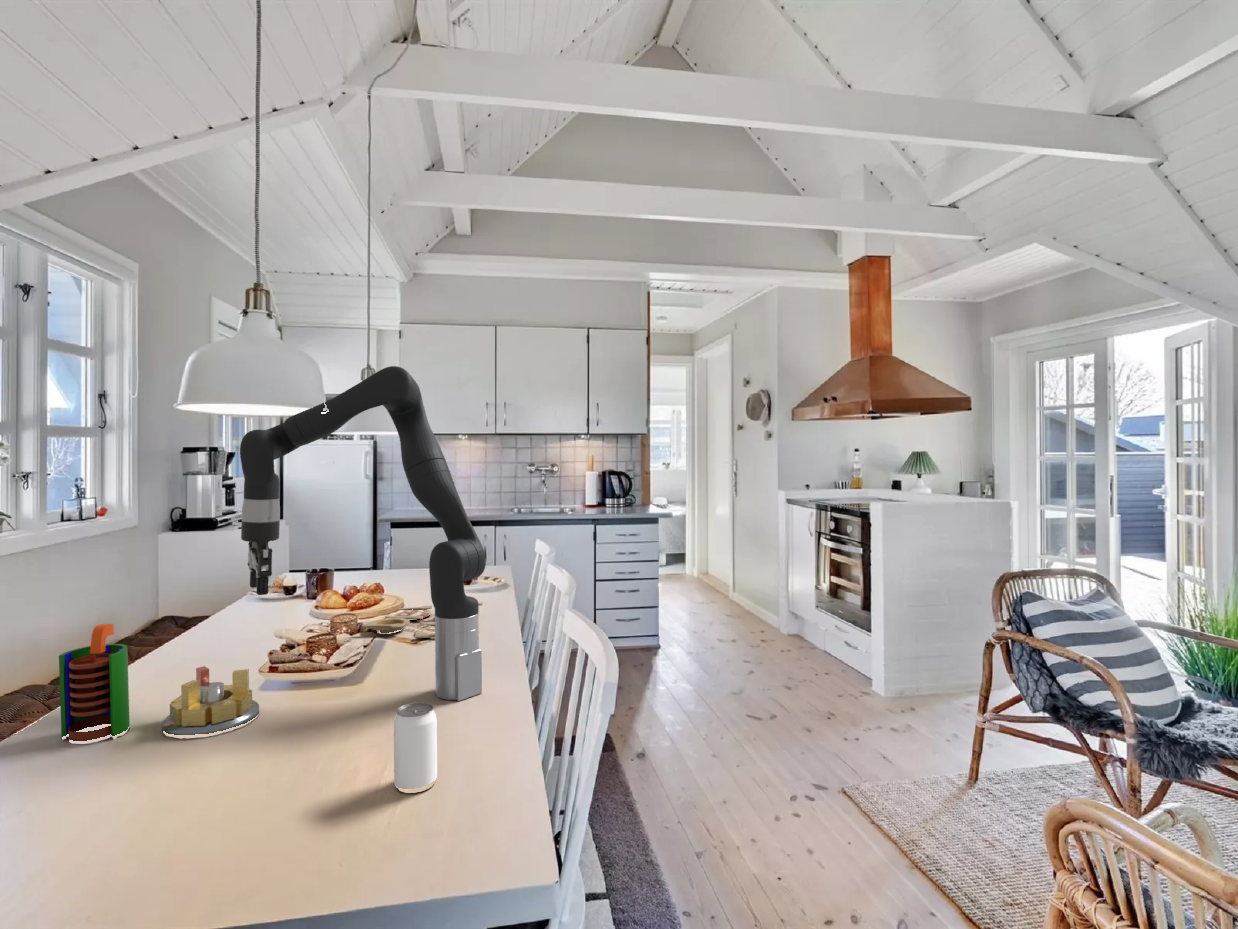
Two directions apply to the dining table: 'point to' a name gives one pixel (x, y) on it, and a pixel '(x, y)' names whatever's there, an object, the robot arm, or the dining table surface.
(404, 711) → the can
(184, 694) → the wooden blocks on tray
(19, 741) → the dining table surface
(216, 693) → the rotating turntable
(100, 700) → the motor
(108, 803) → the dining table surface
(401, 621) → the tableware set
